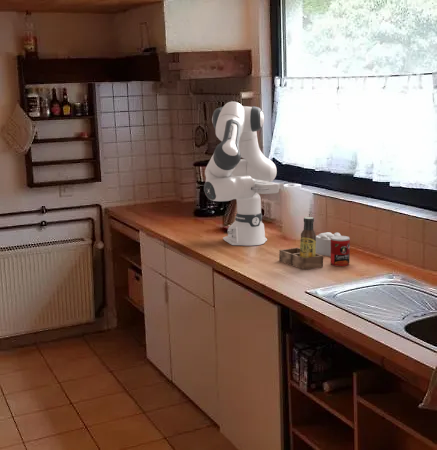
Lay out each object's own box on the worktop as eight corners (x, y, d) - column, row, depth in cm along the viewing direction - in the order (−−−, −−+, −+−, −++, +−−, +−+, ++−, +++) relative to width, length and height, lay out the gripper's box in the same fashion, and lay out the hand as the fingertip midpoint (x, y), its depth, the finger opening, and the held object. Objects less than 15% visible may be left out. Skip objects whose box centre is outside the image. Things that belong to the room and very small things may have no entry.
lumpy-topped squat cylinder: (330, 249, 319) (330, 229, 317) (350, 254, 308) (350, 234, 306) (312, 252, 313) (312, 232, 312) (331, 257, 303) (331, 237, 301)
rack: (279, 260, 299) (279, 250, 298) (297, 257, 303) (297, 247, 302) (304, 269, 283) (304, 258, 282) (322, 266, 287) (323, 255, 287)
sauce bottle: (297, 267, 288) (297, 218, 284) (302, 263, 293) (302, 215, 289) (312, 268, 285) (312, 219, 281) (317, 265, 290) (318, 216, 287)
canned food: (334, 266, 287) (334, 240, 285) (327, 262, 295) (327, 236, 292) (352, 265, 288) (352, 238, 286) (345, 261, 296) (345, 235, 294)
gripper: (259, 181, 263) (291, 179, 269) (232, 176, 281) (262, 173, 287) (259, 198, 264) (291, 195, 271) (232, 192, 282) (262, 189, 288)
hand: (276, 184), depth 279 cm, fingers open, 8 cm apart
